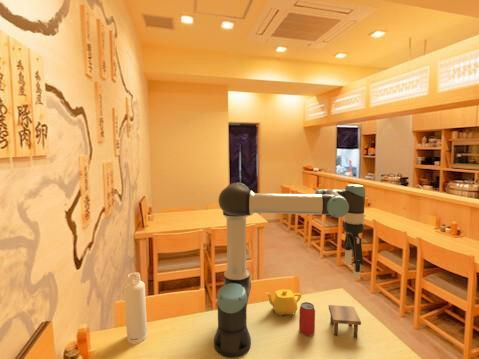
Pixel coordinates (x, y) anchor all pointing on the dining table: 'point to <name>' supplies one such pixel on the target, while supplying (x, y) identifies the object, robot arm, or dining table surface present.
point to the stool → (344, 318)
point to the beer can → (307, 319)
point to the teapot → (284, 302)
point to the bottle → (135, 309)
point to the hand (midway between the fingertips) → (351, 271)
